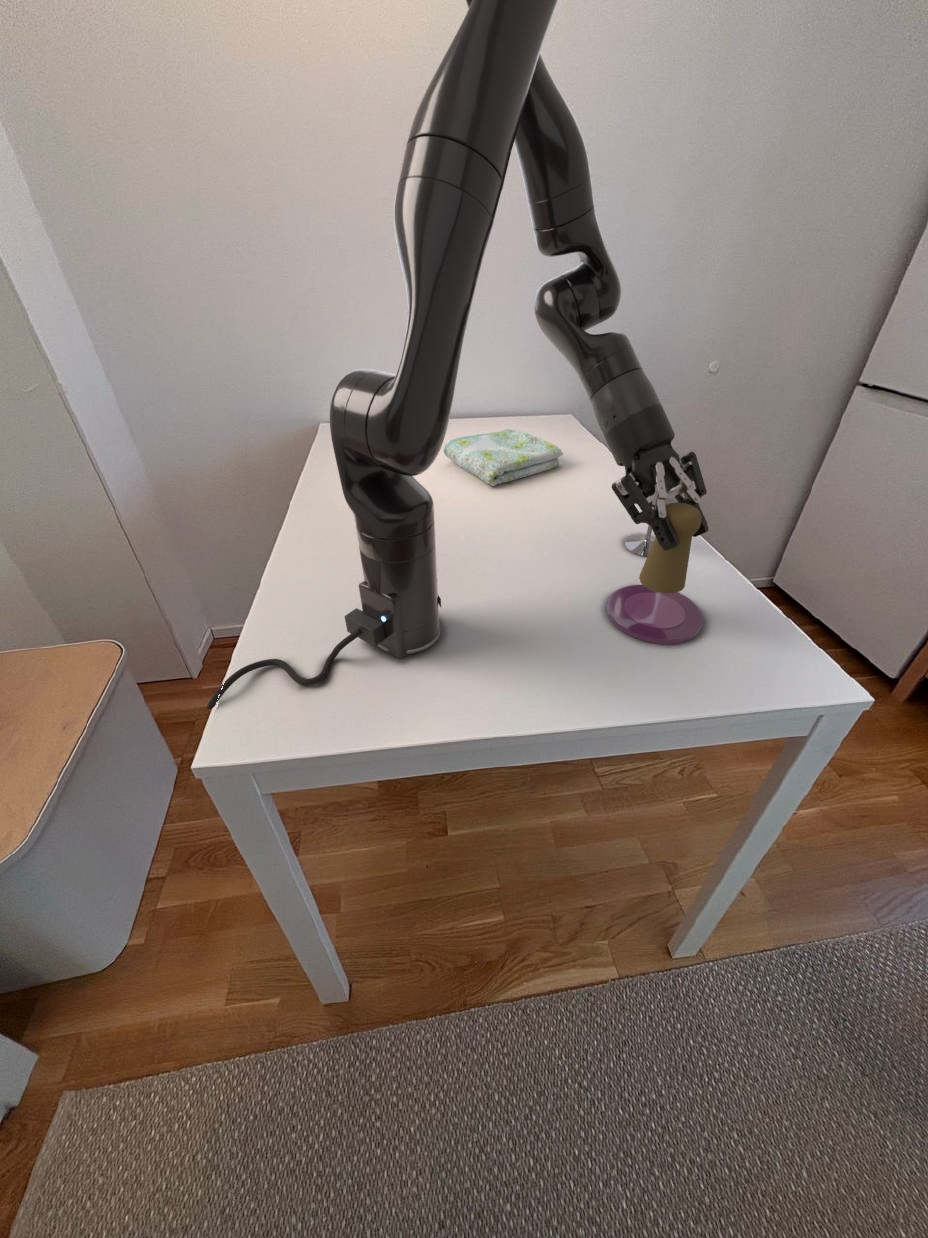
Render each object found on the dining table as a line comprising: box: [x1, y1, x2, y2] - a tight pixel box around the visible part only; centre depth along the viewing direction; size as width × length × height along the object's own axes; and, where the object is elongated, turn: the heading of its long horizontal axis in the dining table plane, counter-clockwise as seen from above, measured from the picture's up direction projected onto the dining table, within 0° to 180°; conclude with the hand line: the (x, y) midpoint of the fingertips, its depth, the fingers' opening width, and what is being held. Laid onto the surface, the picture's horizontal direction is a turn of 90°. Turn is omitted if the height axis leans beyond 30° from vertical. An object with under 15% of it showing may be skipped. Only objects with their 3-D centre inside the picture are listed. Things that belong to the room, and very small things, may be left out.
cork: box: [638, 503, 701, 594], centre depth 67 cm, size 6×6×11 cm
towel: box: [443, 428, 564, 487], centre depth 116 cm, size 18×21×5 cm
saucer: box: [606, 584, 704, 645], centre depth 74 cm, size 13×13×1 cm
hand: (687, 540), depth 65 cm, fingers closed on cork, 5 cm apart
